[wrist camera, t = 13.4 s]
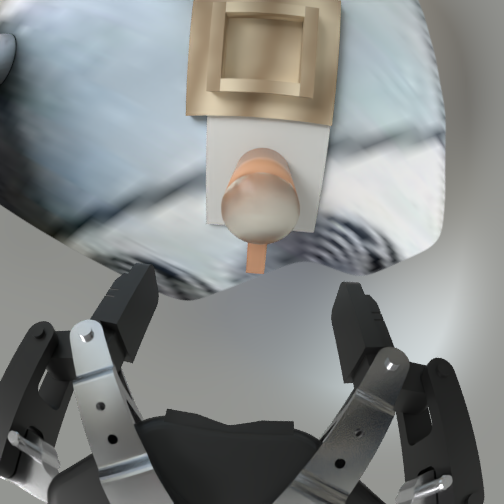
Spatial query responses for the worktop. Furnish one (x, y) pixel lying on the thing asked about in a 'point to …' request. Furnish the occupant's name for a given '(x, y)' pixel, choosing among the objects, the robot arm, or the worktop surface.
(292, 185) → the tabbed peach cylinder
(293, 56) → the dock
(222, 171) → the mat
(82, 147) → the worktop surface
